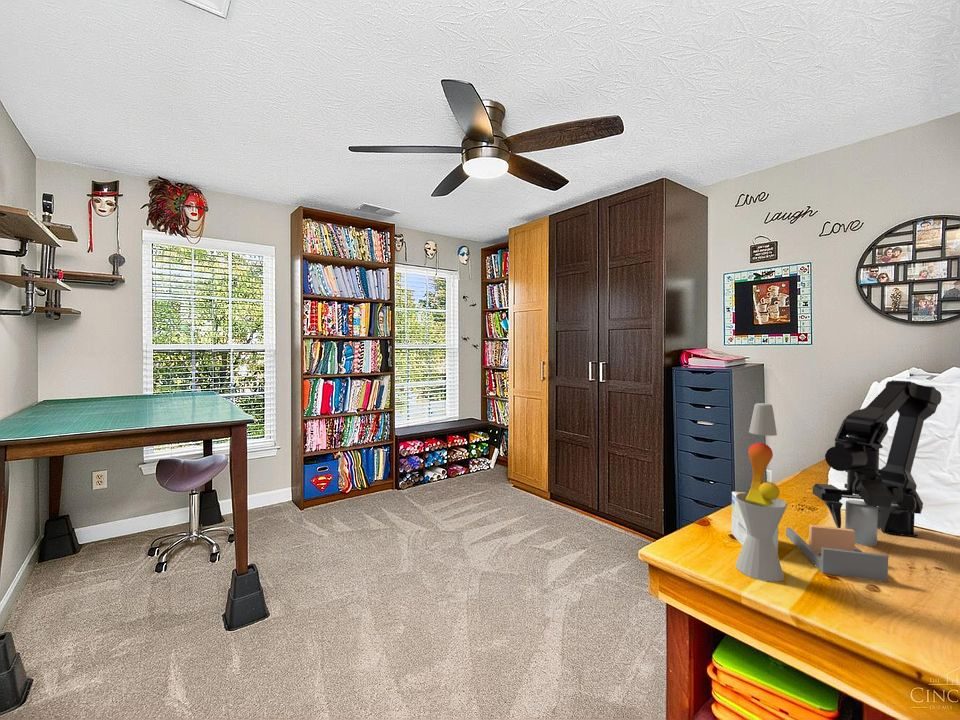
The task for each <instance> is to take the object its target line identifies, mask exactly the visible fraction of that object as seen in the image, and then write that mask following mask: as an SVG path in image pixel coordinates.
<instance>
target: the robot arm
mask: <svg viewBox="0 0 960 720" xmlns="http://www.w3.org/2000/svg"><path fill="white" fill-rule="evenodd" d="M941 402H942V394H941V391H939V390H937V389H936V387H934V386H929V385H922V384H919V383H915V382H912V381H911V380H910V381H909V380H891V381H890V380H889V381H887V382H886V384H885V387H884V388H883V390H882V391H880V393H879V394H877V396H876V397H874V399H873V400H872V401H871V402H870V403H869V404H868V405H867V406H866V407H864V408H860V409H857V410H854V411H852V412H850V413H849V414H848V415H847V416H846V417H845V418H844V419H843V420H842V423H841V424H840V427H839V429H838V432H837V434H836V436H835V438H834V441H835V442H834V446H831V447H830V448H828V449H827V450H826V453H825V455H824V458H825V461H826V464H827V465H828V466H829V467H830V468H831V469H833V470H835V471H838V472H845V473H847V477H846V478H847V481H846V483H844V489H839V488H838V487H837V486H835V485H833V484H825V483H815V484H814V485H813V486H812V494H813V496H816V497H817V498H818V499H820V500H821V501H823V502H824V503H825V505H826V507H827V508H828V511H829V513H830V514H831V516H832V518H833V521H834V524H835V527H836V528H842V507H843V504H844V503H842V501H841V500H842V499H853V500H854V499H856V500H862V501H863V502H865V503H866V504H867V505H869V506H878V527H879V529H880V528H881V529H880V530H881V533H883V534H888V533H891V534H890V535H896V534H903V535H902V536H905V535H911V536H910V537H915V536H918V537H919V534H918V533H916V532H915V514H917V515H918V514H919V515H921V514H922V511H923V509H924V502H923V500H922V499H921V497H920V496H919V494H918V492H917V483H916V481H915V479H914V478H913V476H912V469H913V466H914V460H915V456H916V453H917V450H918V446H919V441H920V438H921V434H922V430H923V426H924V421H926V420H927V419H928V418H930V417H931V416H932V415H934V414H935V413H936V412H937V411H936V410H937V408H938V405H940V403H941ZM896 412H898V417H897V418H898V419H897V422H896V426H895V429H894V434H893V438H892V442H891V446H890V448H889V452H888V457H887V459H886V464H885V466H883V467H882V468H881V469H880V467H879V465H880V449H883V444H882V442H883V440H884V439H885V437H886V435H887V434H888V431H889V427H888V421H889V420H891V418H892V417H893V416H894V414H895V413H896Z"/></svg>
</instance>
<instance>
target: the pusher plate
mask: <svg viewBox="0 0 960 720" xmlns="http://www.w3.org/2000/svg"><path fill="white" fill-rule="evenodd" d="M808 528H809V531H808V545H809V546H810V547H811V548H812V549H813V550H814V551H815V552H817V553H818V554H819V555H821V547H823V548H832V549H840V550H849V551H854V550H855V546H856V543H855V531H854V530H852V529H845V527H844V528H842V527H841V528H837V527H836V526H835V527H832V526H825V525H815V524H814V525H813V524H809V527H808Z"/></svg>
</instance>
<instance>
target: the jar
mask: <svg viewBox="0 0 960 720" xmlns="http://www.w3.org/2000/svg"><path fill="white" fill-rule="evenodd" d="M844 516H845V517H844V529H852V530H854V531H855V544H856V543H857V544H856V545H860V544H861V546H865V545H866V546H867V547H875V545H876V546H877V545H878V506H869V505H867V504H866V503H865V502H864V500H858V499H856V500H854V499H847V500H845V515H844ZM866 546H865V547H866Z"/></svg>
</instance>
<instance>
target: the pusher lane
mask: <svg viewBox="0 0 960 720" xmlns="http://www.w3.org/2000/svg"><path fill="white" fill-rule="evenodd" d="M785 536H786V537H787V538H788V539H789V540H790V541H791V542H792V543H793V544H794V545H795V547H797V549H799V550H800V551H801V553H802V554H804V555H805V556H806V558H807V559H809V561H811V563H814V564H815V565H816V566H817V567H818V568H819V569H820V570H819V569H818V568H817V567H816V566H815V565H814V564H813V565H814V566H815V567H816V568H817V569H818V570H819V571H820V572H821V573H822V574H824V575H825V574H827V575H833V576H842V577H851V578H857V579H866V580H871V581H881V582H888V578H889V577H888V574H889V573H888V572H889V556H888V555H886V554H881V553H876V552H875V553H874V552H873V553H872V552H866V551H865V552H864V551H862V550H861V549H859V547H857V546H856V545H855V550H854V551H849V550H840V549H832V548H823V547H821V554H818V553H817V552H815V551H814V550H813V549H812V548H811V547H810V546H809V543H808V542H806V541H805V540H804V539H803V537H801V536H800V535H799V534H798V533H797V532H796V531H795V530H794V529H793V528H792V527H787V526H786V527H785Z"/></svg>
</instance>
